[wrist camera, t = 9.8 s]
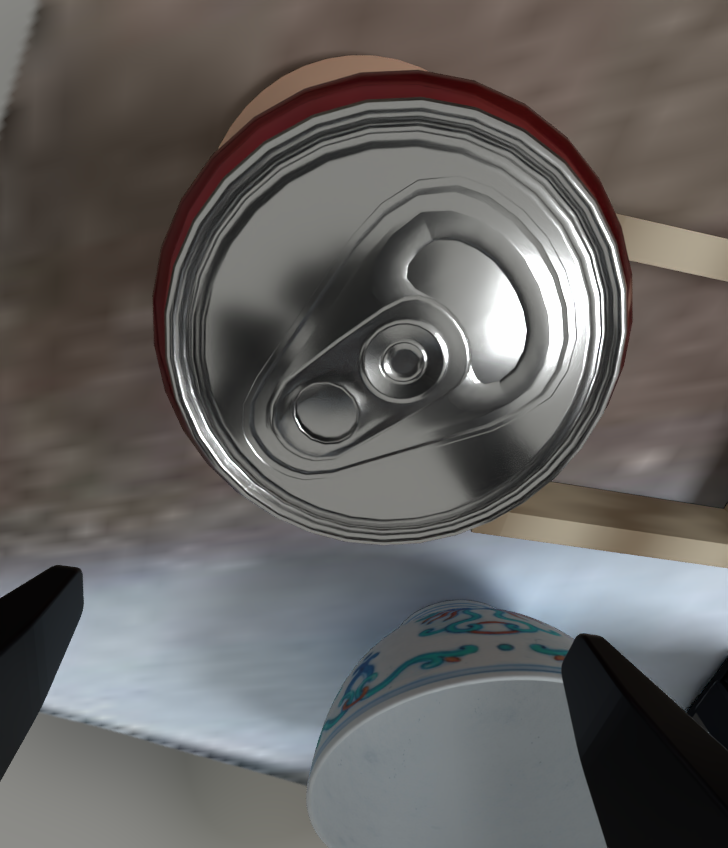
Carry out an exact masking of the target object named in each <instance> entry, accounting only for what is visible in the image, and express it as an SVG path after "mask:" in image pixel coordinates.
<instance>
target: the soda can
mask: <svg viewBox="0 0 728 848" xmlns="http://www.w3.org/2000/svg"><path fill="white" fill-rule="evenodd" d="M152 297H153V331H154V346H155V351H156V355H157V359H158V363H159V367H160V372H161V376H162V380H163V384H164V388H165V392H166V394H167V396H168V398H169V401H170V403H171V405H172V407H173V409H174V411H175V414H176V416H177V418H178V420H179V422H180V425H181V427H182V429H183V431H184V432H185V434H186V435H187V436H188V438H189V439H190V440H191V442H192V443H193V445H194V446H195V447H196V449H197V450H198V452H199V453H200V454H201V456H202V457H203V459H204V460H205V461H206V463H207V464H208V465H209V466H210V467H211V468H212V469H213V470H214V471H215V472H216V473H217V474H218V475H219V476H220V477H221V478H223V479H224V480H225V481H226V482H227V483H228V484H229V485H230V486H231V487H232V488H233V489H234V490H235V491H236V492H237V493H239V494H240V495H242V496H243V497H245V498H246V499H248V500H249V501H251V502H252V503H254V504H255V505H257V506H258V507H260V508H261V509H263V510H264V511H266V512H267V513H269V514H271V515H273V516H274V517H276V518H278V519H281V520H283V521H285V522H287V523H290V524H292V525H294V526H296V527H299V528H301V529H303V530H305V531H308V532H310V533H314V534H318V535H322V536H326V537H329V538H333V539H337V540H341V541H345V542H353V543H364V544H374V545H396V544H412V543H422V542H427V541H431V540H436V539H441V538H445V537H450V536H454V535H458V534H460V533H463V532H466V531H468V530H471V529H473V528H476V527H479V526H481V525H484V524H486V523H489V522H491V521H493V520H495V519H497V518H498V517H500V516H502V515H504V514H505V513H507V512H509V511H511V510H512V509H514V508H516V507H518V506H519V505H521V504H523V503H524V502H526V501H527V500H528V499H529V498H531V497H532V496H533V495H534V494H536V493H537V492H538V491H539V490H541V489H542V488H543V487H544V486H545V485H547V484H548V483H549V482H550V481H552V480H553V479H554V478H555V477H556V476H557V475H558V474H559V473H560V472H561V470H562V469H563V468H564V467H565V466H566V465H567V464H568V463H569V462H570V460H571V459H572V458H573V457H574V456H575V455H576V454H577V453H578V451H579V450H580V449H581V448H582V447H583V445H584V443H585V442H586V440H587V439H588V437H589V435H590V434H591V432H592V431H593V429H594V427H595V426H596V424H597V423H598V421H599V419H600V418H601V416H602V415H603V413H604V411H605V409H606V408H607V406H608V404H609V401H610V399H611V396H612V394H613V391H614V389H615V386H616V384H617V381H618V379H619V376H620V374H621V371H622V369H623V366H624V362H625V357H626V352H627V347H628V342H629V337H630V331H631V326H632V272H631V267H630V263H629V258H628V253H627V249H626V244H625V240H624V235H623V231H622V227H621V224H620V222H619V220H618V218H617V215H616V213H615V211H614V209H613V207H612V205H611V202H610V200H609V198H608V196H607V194H606V192H605V190H604V187H603V185H602V183H601V181H600V179H599V177H598V176H597V175H596V173H595V172H594V171H593V170H592V168H591V167H590V166H589V164H588V163H587V162H586V161H585V159H584V158H583V157H582V156H581V154H580V153H579V152H578V150H577V149H576V148H575V147H574V145H573V144H572V143H571V142H570V140H569V139H568V138H567V137H566V136H565V135H564V134H562V133H561V132H560V131H559V130H557V129H556V128H555V127H554V126H552V125H551V124H550V123H549V122H547V121H546V120H545V119H544V118H542V117H541V116H540V115H538V114H537V113H536V112H535V111H533V110H532V109H531V108H530V107H528V106H527V105H526V104H524V103H522V102H520V101H518V100H516V99H513V98H511V97H509V96H507V95H505V94H503V93H500V92H498V91H496V90H494V89H492V88H490V87H487V86H485V85H483V84H481V83H479V82H477V81H474V80H469V79H464V78H459V77H454V76H448V75H443V74H438V73H433V72H428V71H423V70H401V71H379V72H360V73H357V74H353V75H350V76H346V77H343V78H339V79H336V80H332V81H329V82H325V83H322V84H318V85H315V86H311V87H308V88H304V89H303V90H301V91H299V92H297V93H296V94H294V95H292V96H290V97H288V98H287V99H285V100H283V101H281V102H279V103H278V104H276V105H274V106H272V107H271V108H269V109H267V110H265V111H263V112H262V113H260V114H258V115H256V116H254V117H253V118H252V119H251V120H250V121H249V122H248V123H247V124H246V125H244V126H243V127H242V128H241V129H240V130H239V131H238V132H237V133H236V134H235V135H233V136H232V137H231V138H230V139H229V140H228V141H227V142H226V143H225V144H223V145H222V146H221V147H220V148H219V149H218V150H217V151H216V152H215V153H214V154H212V156H211V157H210V159H209V160H208V162H207V163H206V164H205V166H204V167H203V169H202V170H201V172H200V173H199V174H198V176H197V177H196V179H195V180H194V182H193V183H192V184H191V186H190V187H189V189H188V190H187V191H186V193H185V194H184V196H183V197H182V199H181V201H180V203H179V206H178V208H177V210H176V213H175V215H174V218H173V220H172V222H171V225H170V227H169V230H168V232H167V234H166V237H165V239H164V242H163V244H162V247H161V252H160V257H159V263H158V268H157V273H156V279H155V284H154V290H153V295H152Z"/></svg>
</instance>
